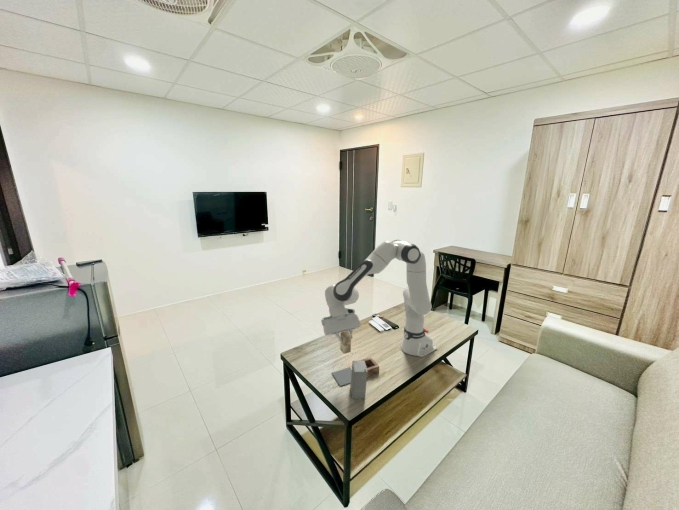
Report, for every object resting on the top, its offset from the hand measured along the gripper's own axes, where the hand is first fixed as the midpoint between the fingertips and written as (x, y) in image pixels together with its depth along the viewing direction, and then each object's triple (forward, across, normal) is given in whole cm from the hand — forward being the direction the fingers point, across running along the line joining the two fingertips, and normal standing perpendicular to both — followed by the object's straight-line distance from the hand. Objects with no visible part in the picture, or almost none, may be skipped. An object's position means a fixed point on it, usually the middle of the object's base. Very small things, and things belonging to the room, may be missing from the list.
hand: (346, 339), depth 139 cm
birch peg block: (+4, 0, +5) cm, 7 cm away
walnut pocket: (+16, +14, +16) cm, 27 cm away
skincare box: (+25, +1, +7) cm, 26 cm away
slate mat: (+16, 0, +16) cm, 23 cm away
